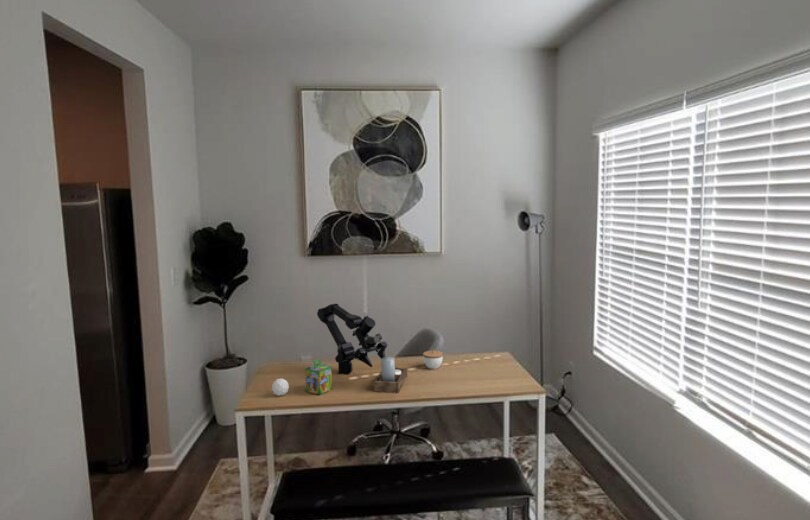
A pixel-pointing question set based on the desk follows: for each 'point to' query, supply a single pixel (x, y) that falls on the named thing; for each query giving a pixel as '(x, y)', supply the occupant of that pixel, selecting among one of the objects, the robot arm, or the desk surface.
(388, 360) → the pale blue cylinder
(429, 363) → the lidded jar
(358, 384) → the desk surface
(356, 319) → the robot arm
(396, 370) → the bowl
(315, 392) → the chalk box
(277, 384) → the geometric ball
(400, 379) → the brown wooden tray
